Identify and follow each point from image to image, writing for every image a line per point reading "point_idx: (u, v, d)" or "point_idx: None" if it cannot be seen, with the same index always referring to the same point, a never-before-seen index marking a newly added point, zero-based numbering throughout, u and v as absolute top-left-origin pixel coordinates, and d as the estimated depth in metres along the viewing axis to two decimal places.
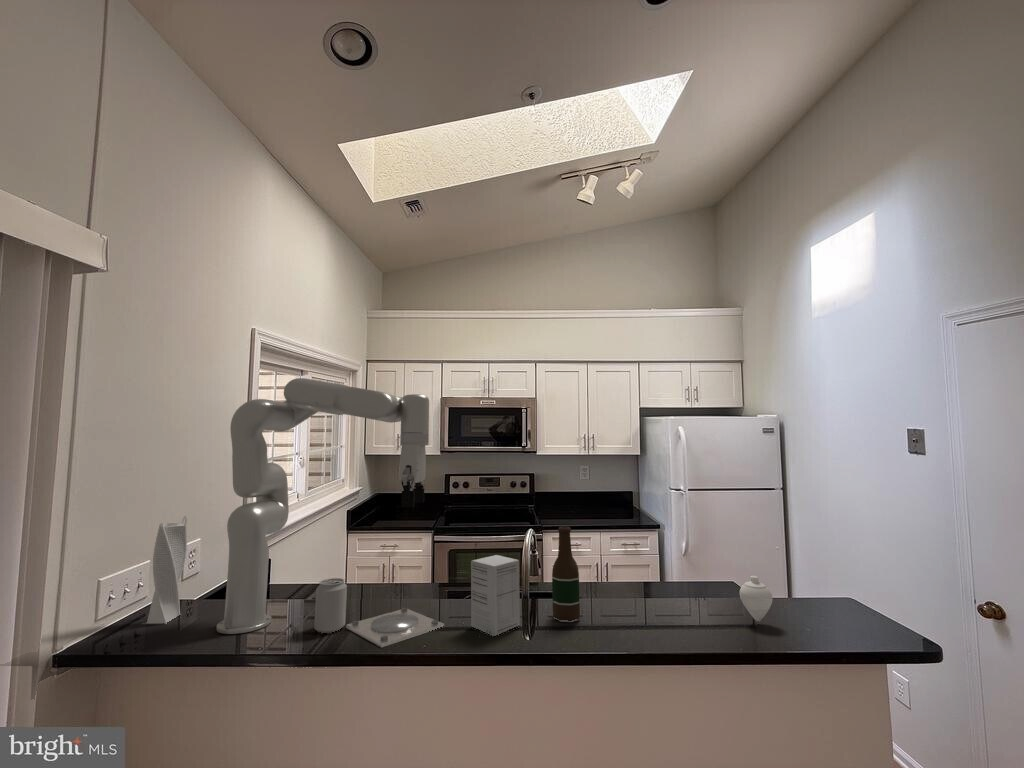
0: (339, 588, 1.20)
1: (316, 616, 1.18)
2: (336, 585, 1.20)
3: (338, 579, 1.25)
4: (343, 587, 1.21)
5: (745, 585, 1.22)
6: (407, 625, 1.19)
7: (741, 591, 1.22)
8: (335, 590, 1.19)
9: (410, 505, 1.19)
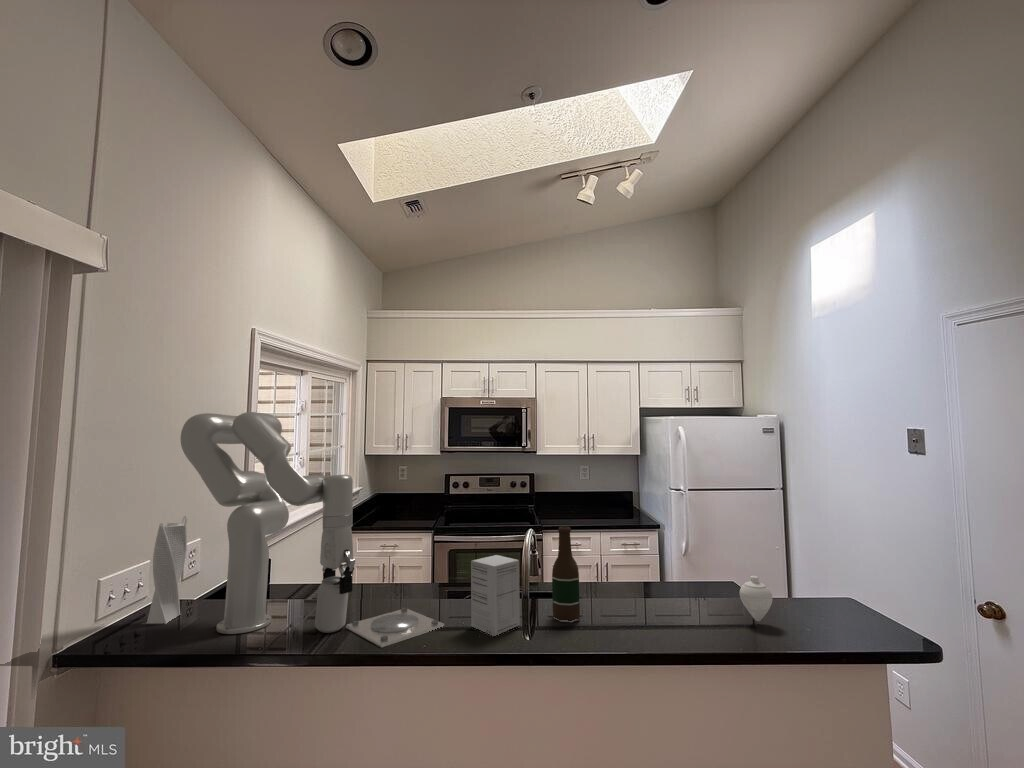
0: None
1: (317, 615, 1.18)
2: (338, 586, 1.19)
3: None
4: None
5: (745, 585, 1.22)
6: (407, 625, 1.19)
7: (741, 591, 1.22)
8: (337, 591, 1.18)
9: (349, 590, 1.19)
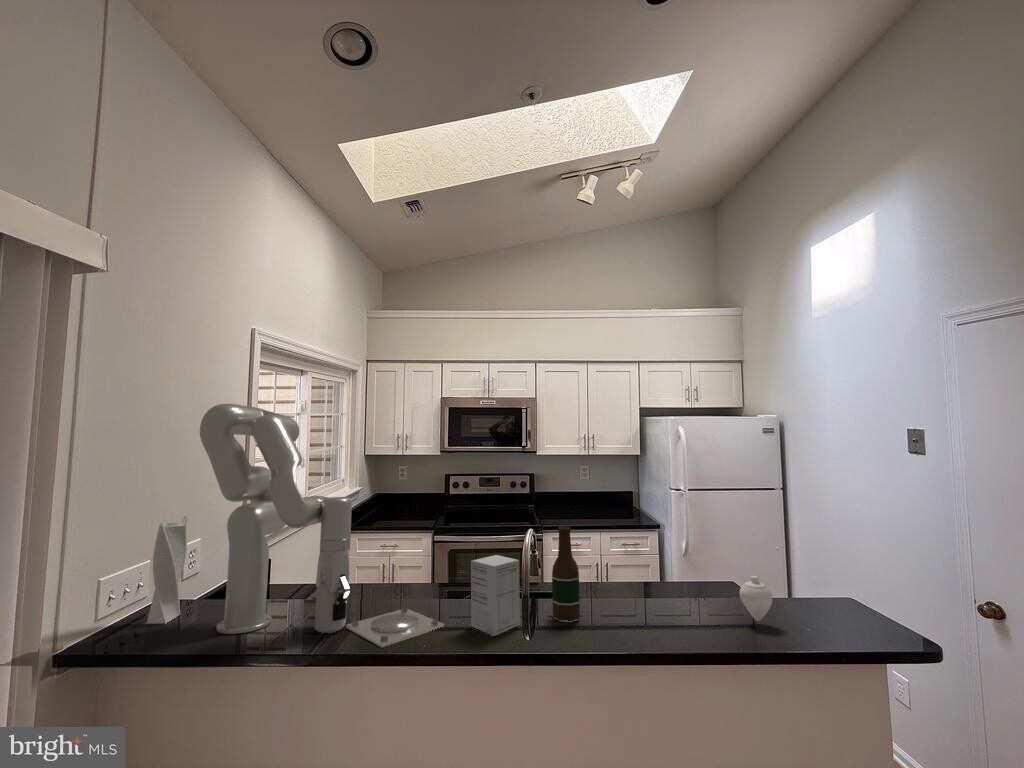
0: (339, 588, 1.20)
1: (316, 616, 1.18)
2: None
3: None
4: None
5: (745, 585, 1.22)
6: (407, 625, 1.19)
7: (741, 591, 1.22)
8: None
9: (342, 617, 1.18)
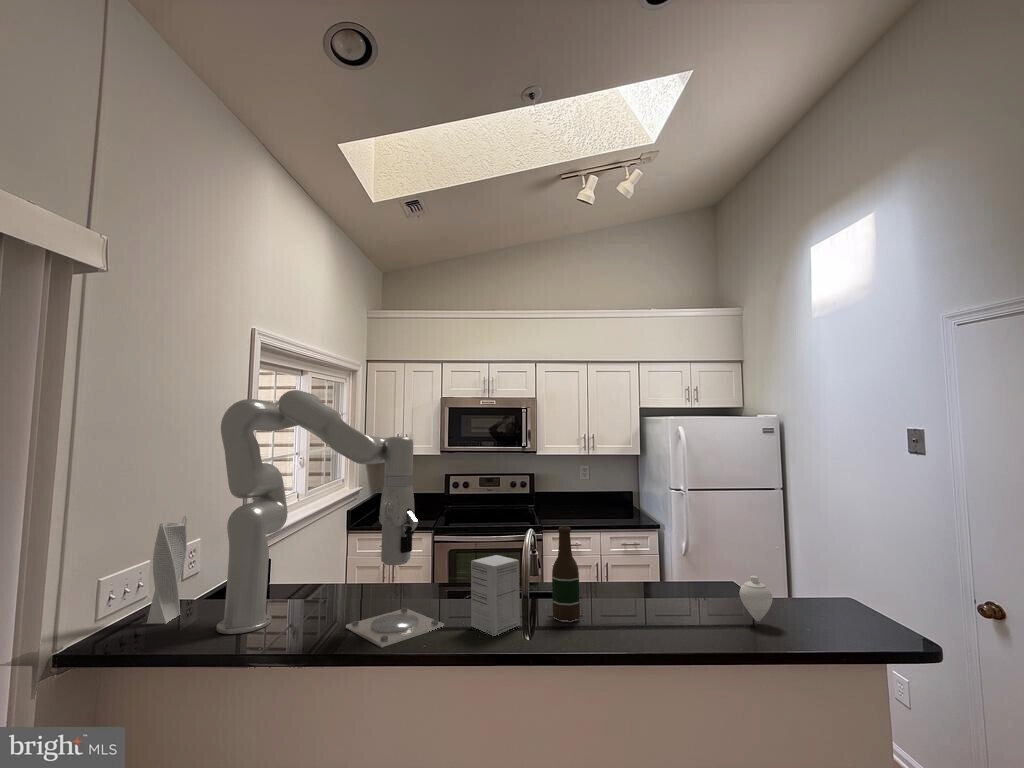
0: (405, 522, 1.23)
1: (384, 549, 1.21)
2: None
3: None
4: None
5: (745, 585, 1.22)
6: (407, 625, 1.19)
7: (741, 591, 1.22)
8: None
9: (409, 550, 1.22)
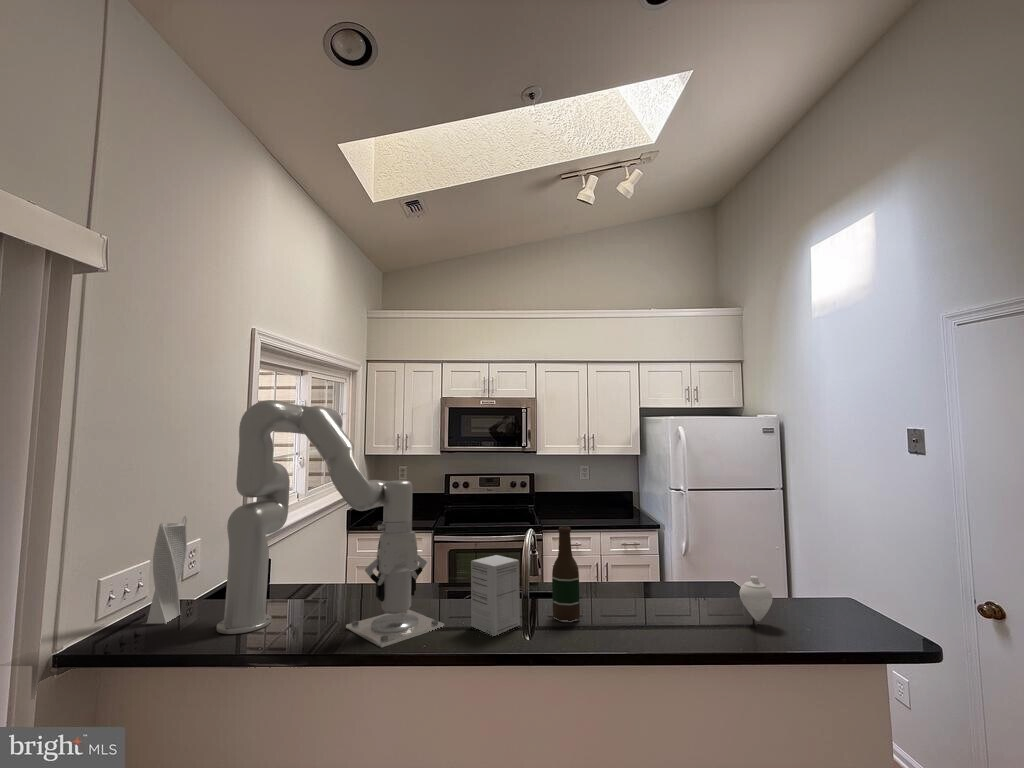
0: None
1: (401, 597, 1.19)
2: None
3: None
4: None
5: (745, 585, 1.22)
6: (407, 625, 1.19)
7: (741, 591, 1.22)
8: None
9: None
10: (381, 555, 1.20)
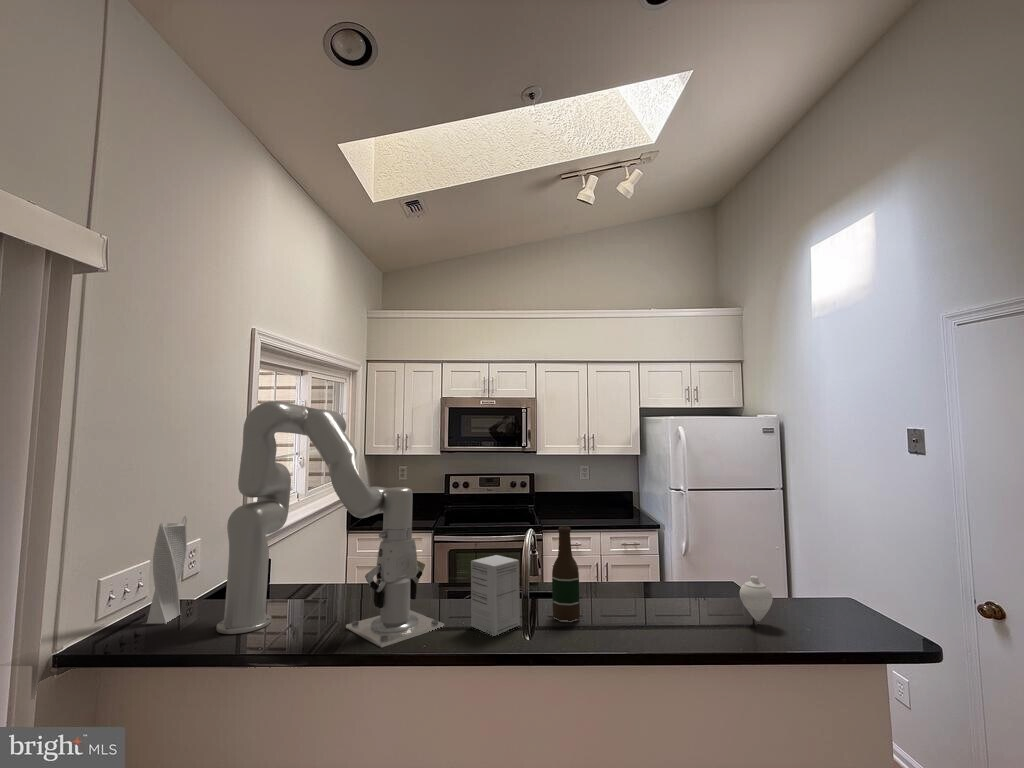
0: None
1: (403, 608, 1.19)
2: None
3: None
4: None
5: (745, 585, 1.22)
6: (407, 625, 1.19)
7: (741, 591, 1.22)
8: None
9: None
10: (384, 563, 1.19)
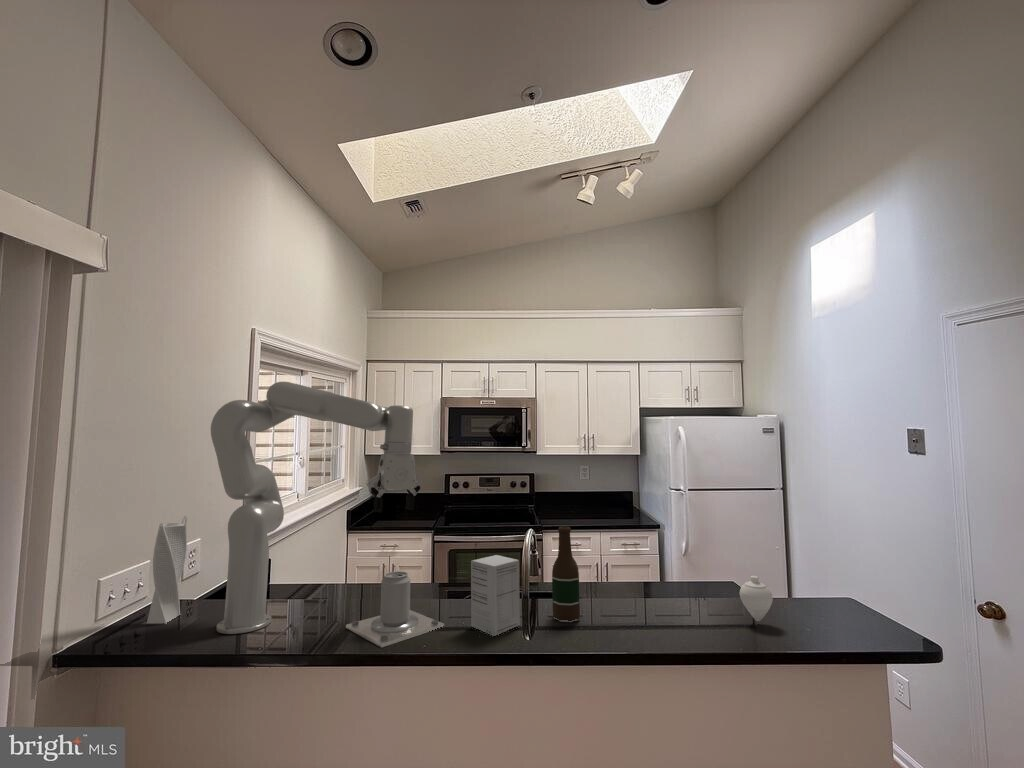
0: None
1: (403, 608, 1.19)
2: None
3: (387, 574, 1.24)
4: None
5: (745, 585, 1.22)
6: (407, 625, 1.19)
7: (741, 591, 1.22)
8: None
9: None
10: (384, 471, 1.27)
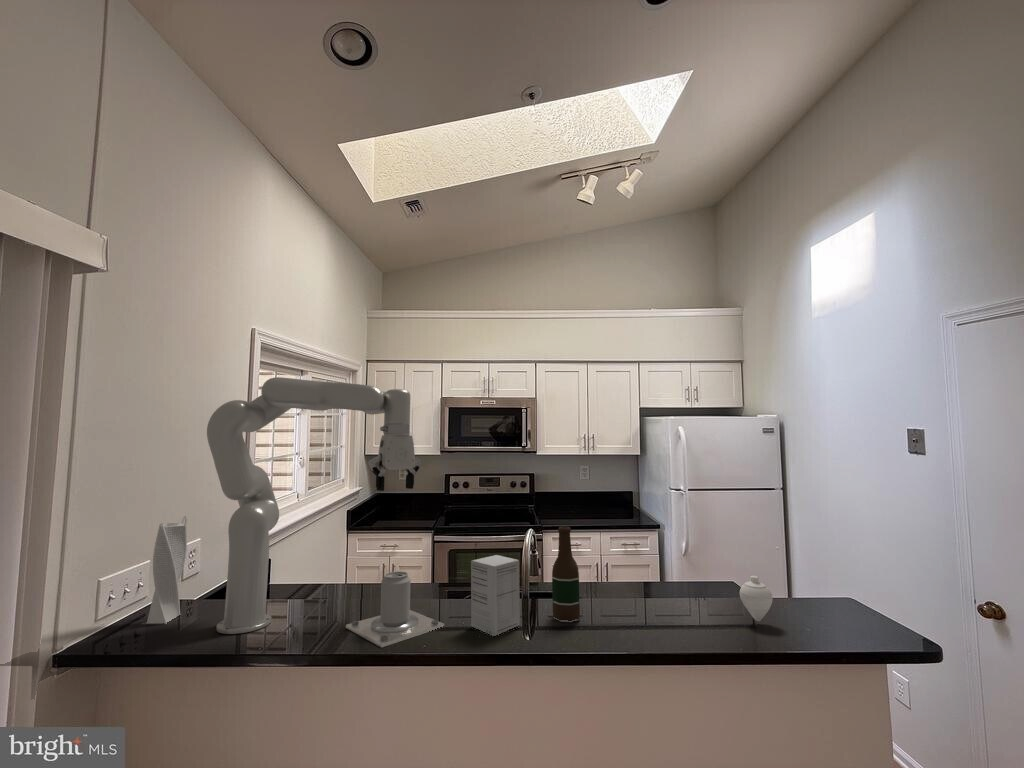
0: None
1: (403, 608, 1.19)
2: None
3: (387, 574, 1.24)
4: None
5: (745, 585, 1.22)
6: (407, 625, 1.19)
7: (741, 591, 1.22)
8: None
9: None
10: (385, 451, 1.33)
